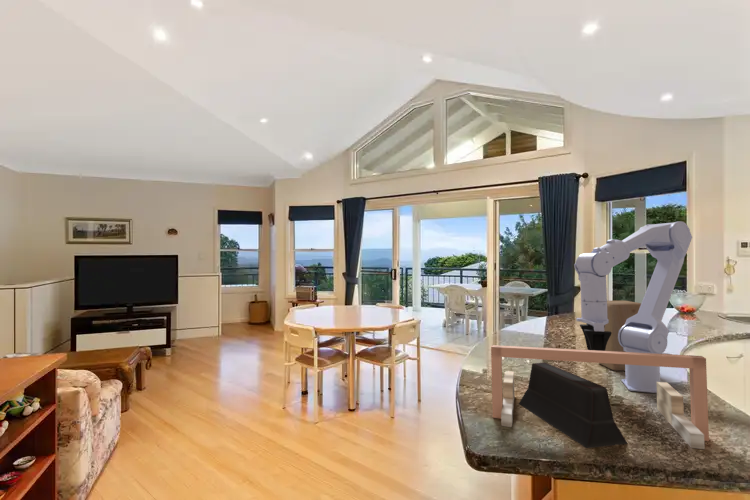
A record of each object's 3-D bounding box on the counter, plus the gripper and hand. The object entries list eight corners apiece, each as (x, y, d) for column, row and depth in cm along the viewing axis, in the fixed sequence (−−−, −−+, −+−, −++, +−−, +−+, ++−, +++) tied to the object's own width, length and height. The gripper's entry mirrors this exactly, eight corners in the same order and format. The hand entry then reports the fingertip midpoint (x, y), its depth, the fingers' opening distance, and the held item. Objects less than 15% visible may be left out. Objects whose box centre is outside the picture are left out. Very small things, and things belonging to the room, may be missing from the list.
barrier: (517, 404, 97) (516, 361, 97) (551, 402, 99) (550, 359, 99) (585, 449, 74) (584, 392, 74) (628, 445, 75) (627, 389, 76)
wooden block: (647, 371, 123) (645, 303, 123) (613, 371, 123) (611, 303, 123) (627, 362, 133) (625, 300, 133) (596, 363, 133) (594, 300, 133)
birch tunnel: (506, 395, 103) (505, 370, 103) (668, 410, 91) (667, 382, 92) (501, 425, 84) (500, 396, 84) (704, 449, 73) (703, 414, 73)
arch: (493, 414, 91) (491, 345, 91) (704, 436, 78) (701, 355, 78) (492, 417, 89) (491, 346, 89) (709, 441, 76) (706, 358, 76)
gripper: (572, 298, 111) (574, 349, 111) (579, 303, 98) (581, 361, 97) (602, 298, 109) (604, 350, 108) (613, 304, 95) (615, 364, 95)
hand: (595, 356), depth 103 cm, fingers open, 7 cm apart
